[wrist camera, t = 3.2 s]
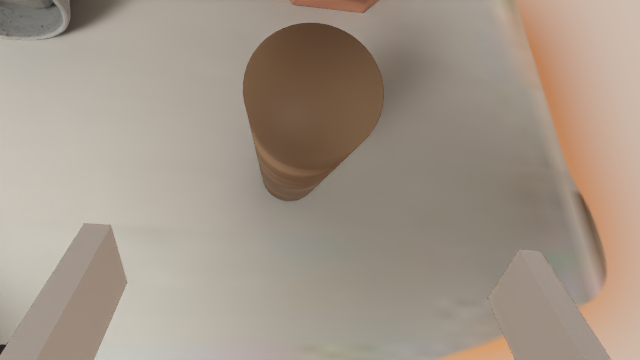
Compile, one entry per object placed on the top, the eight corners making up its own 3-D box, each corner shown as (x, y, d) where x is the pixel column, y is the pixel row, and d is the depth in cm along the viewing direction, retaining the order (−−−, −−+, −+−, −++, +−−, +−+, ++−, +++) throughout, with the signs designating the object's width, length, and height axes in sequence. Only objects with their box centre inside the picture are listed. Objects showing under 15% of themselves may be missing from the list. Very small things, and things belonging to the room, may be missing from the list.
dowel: (260, 199, 25) (237, 153, 9) (264, 145, 26) (249, 15, 10) (315, 202, 26) (381, 164, 10) (318, 149, 26) (385, 30, 10)
